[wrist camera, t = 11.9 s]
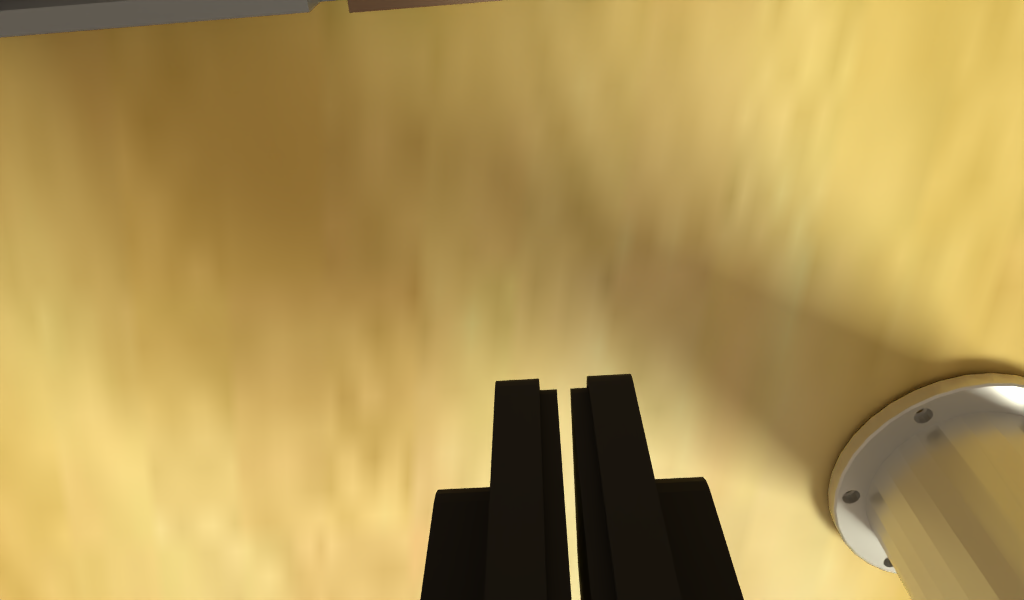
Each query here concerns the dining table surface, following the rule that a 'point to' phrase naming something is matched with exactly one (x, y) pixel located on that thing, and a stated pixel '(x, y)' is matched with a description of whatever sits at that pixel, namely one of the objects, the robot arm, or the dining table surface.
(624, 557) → the robot arm
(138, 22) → the tray
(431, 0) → the flat wooden board
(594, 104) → the dining table surface
